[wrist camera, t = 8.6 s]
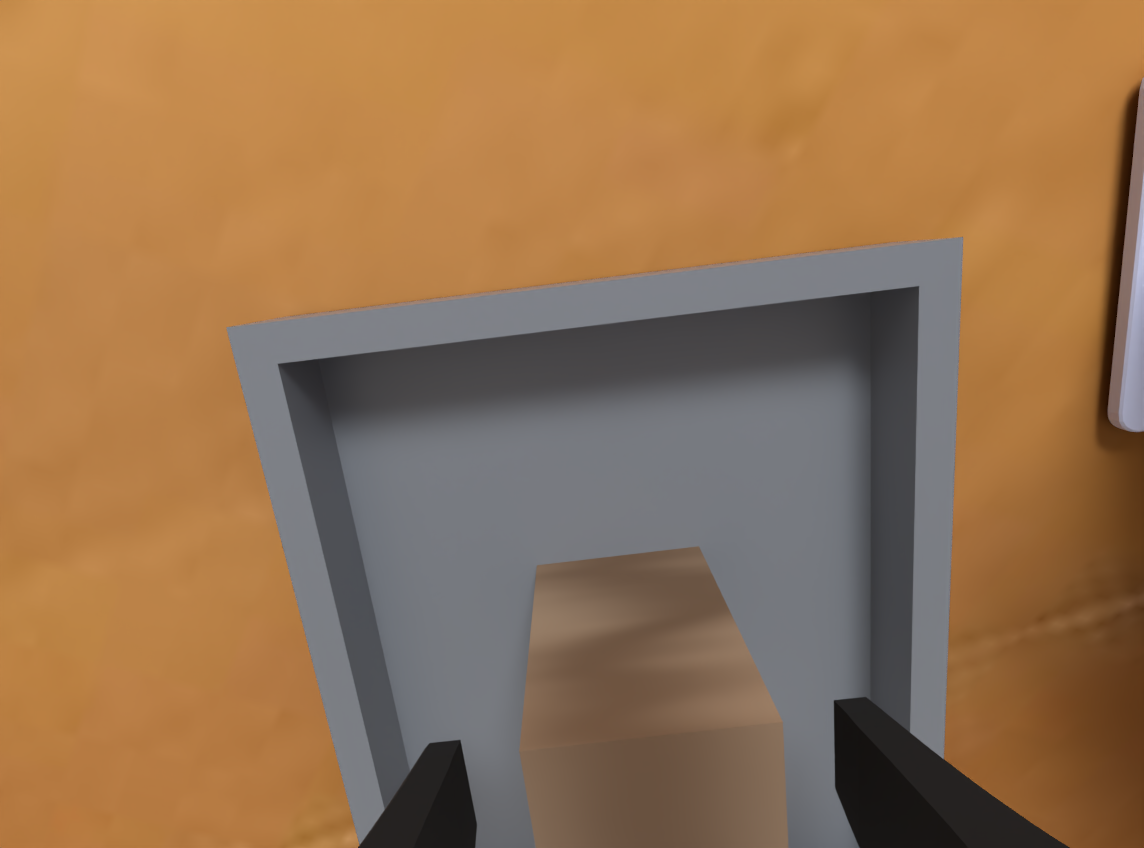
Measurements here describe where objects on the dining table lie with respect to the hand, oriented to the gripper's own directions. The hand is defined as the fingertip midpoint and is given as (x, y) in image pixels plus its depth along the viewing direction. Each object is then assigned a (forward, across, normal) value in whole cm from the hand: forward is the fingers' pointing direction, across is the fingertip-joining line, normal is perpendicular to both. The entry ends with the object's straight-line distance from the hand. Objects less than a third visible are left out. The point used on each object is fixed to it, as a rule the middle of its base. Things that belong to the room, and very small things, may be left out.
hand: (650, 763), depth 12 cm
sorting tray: (+5, 0, 0) cm, 5 cm away
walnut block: (+4, 0, 0) cm, 4 cm away
